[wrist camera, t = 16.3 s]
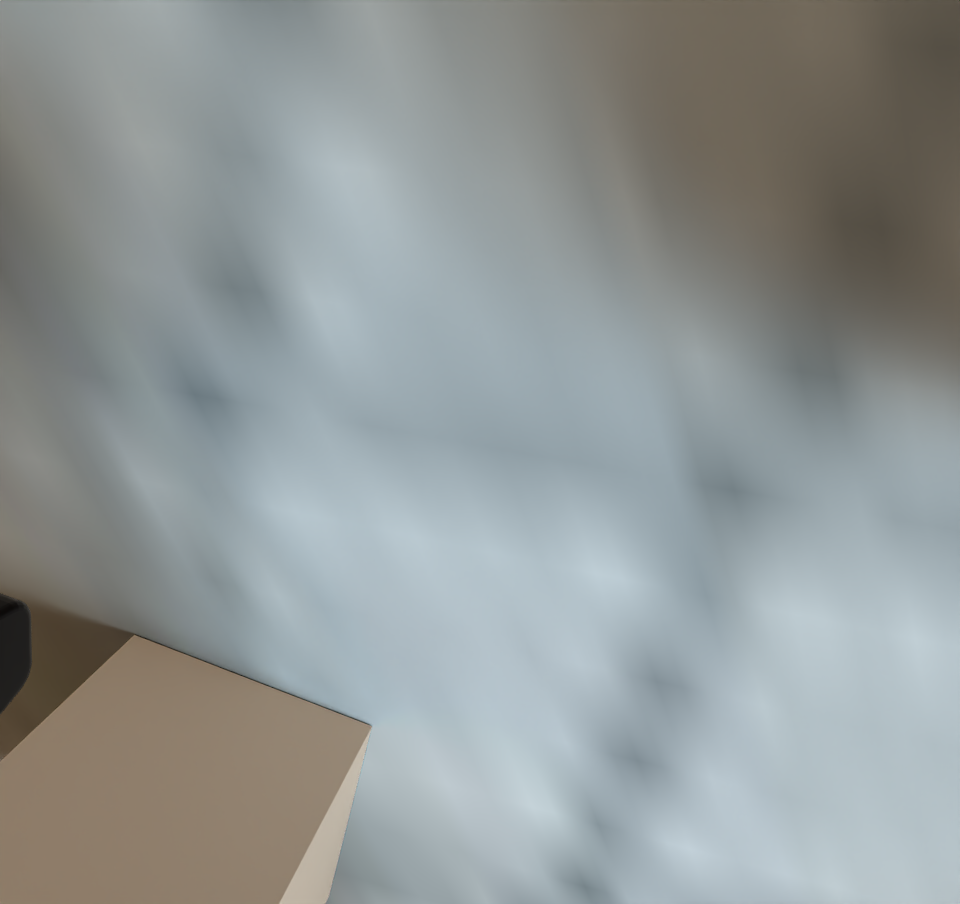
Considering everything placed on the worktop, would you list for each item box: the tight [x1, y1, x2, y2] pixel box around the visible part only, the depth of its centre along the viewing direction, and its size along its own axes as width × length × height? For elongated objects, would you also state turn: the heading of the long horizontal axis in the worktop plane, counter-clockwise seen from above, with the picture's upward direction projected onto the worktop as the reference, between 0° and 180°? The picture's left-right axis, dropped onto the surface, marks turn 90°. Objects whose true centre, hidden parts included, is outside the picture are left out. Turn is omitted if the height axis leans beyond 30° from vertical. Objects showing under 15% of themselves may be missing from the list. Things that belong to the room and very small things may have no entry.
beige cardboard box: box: [0, 635, 372, 904], centre depth 22 cm, size 8×8×9 cm
